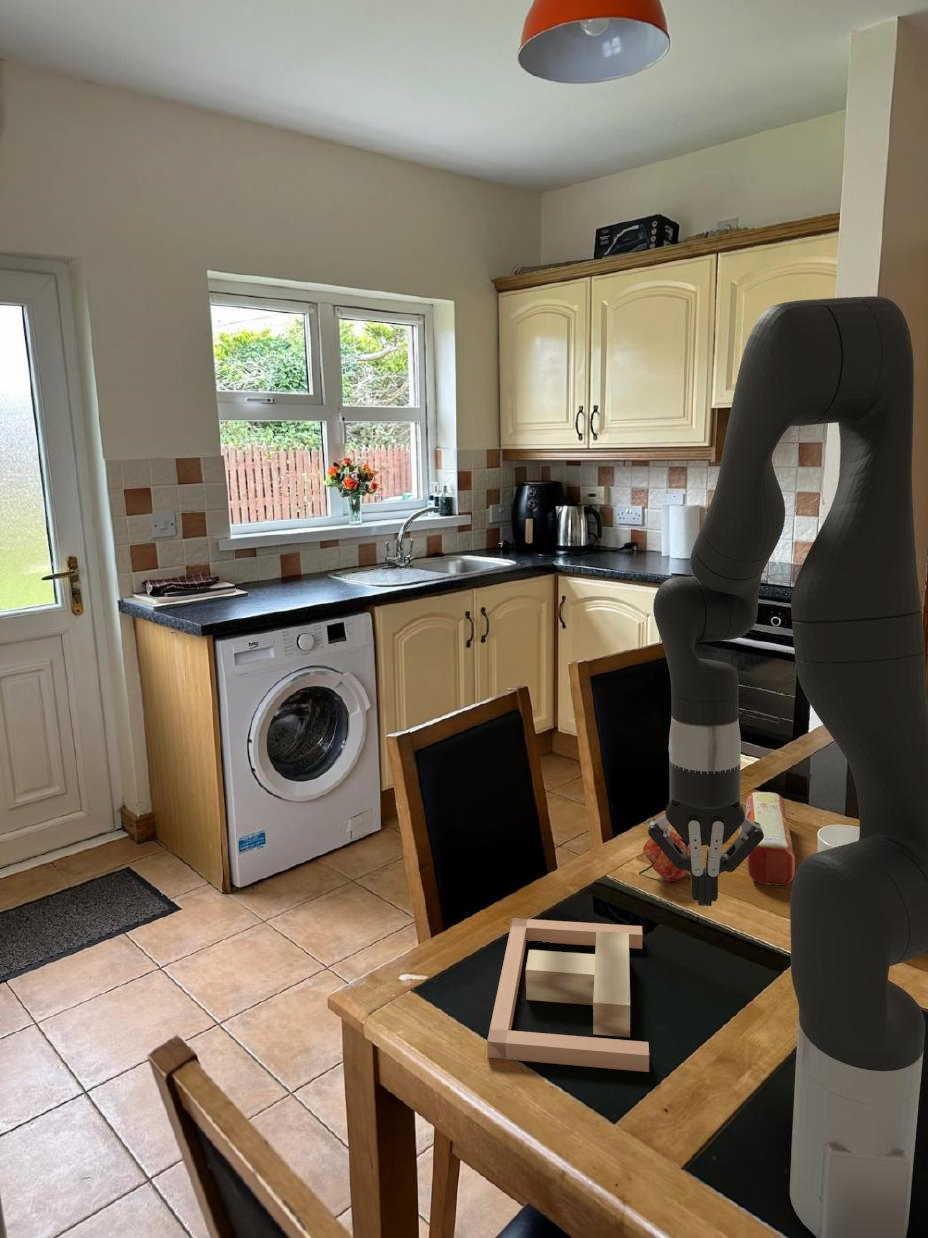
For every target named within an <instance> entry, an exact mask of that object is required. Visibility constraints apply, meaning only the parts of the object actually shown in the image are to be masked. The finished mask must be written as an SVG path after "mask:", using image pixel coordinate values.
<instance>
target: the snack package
mask: <svg viewBox="0 0 928 1238" xmlns="http://www.w3.org/2000/svg"><path fill="white" fill-rule="evenodd" d="M785 804H786V803H785V801H784V799H783V797H782V796H781V795H780V794H778V793H776V792H770V791H766V792H765V791H755V792H751V793H749V794H748V795H747V796H746V801H745V817H746V818H748V819H749V820H751V821H752V822H758V823H759V824H760V826H761V828H762V831H763V834H764V838H763V840H762V841H761V842H760V843H759V844H758V845H757V846H756V847H755V849H754V850H753V851H752V852H751V853H750V854H749V855H748V856H747V857H746V867H747V871H748V875H749V876H750V878H751V879H752V880H753V881H754V882H757V883H759V882H760V883H759V884H763V883H766V884H765V885H771V884H775V885H774V886H784V885H788V884H790V883H791V882H793V879H794V876H795V873H796V869H795V868H796V856H795V853H794V850H793V845H792V837H791V836H792V835H791V833H790V827H789V822H788V818H787V813H786V805H785Z"/></svg>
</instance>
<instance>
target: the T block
mask: <svg viewBox="0 0 928 1238" xmlns="http://www.w3.org/2000/svg"><path fill="white" fill-rule="evenodd" d="M630 973H631V972H630V948H629V933H619V932H604V931H596V946H595V952H594V953H581V952H565V951H564V952H563V951H552V950H540V949H528V954H527V961H526V966H525V988H526V989H525V993H526V995H525V998H526V999H525V1000H526V1001H537V1002H548V1003H549V1002H550V1003H561V1004H562V1003H563V1004H575V1005H587V1006H588V1005H589V1006H592V1010H593V1011H592V1015H593V1016H592V1018H593V1021H592V1022H593V1023H592V1024H593V1026H592V1029H593V1033H592V1034H593V1035H597V1036H598V1035H599V1036H609V1037H619V1038H620V1037H622V1038H631V985H630V984H631V983H630V977H631V976H630Z"/></svg>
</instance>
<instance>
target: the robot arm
mask: <svg viewBox="0 0 928 1238" xmlns="http://www.w3.org/2000/svg"><path fill="white" fill-rule="evenodd" d="M914 364H915V363H914V351H913V344H912V336H911V331H910V328H909V325H908V321H907V320H906V316H905V315H904V313H903V311H902V310H901V308H900V307H899V306H898V305H897V304H896V303H895V302H894V301H893V300H891V299H889V298H886V297H884V296H876V295H873V296H850V297H848V296H847V297H833V298H832V297H830V298H815V299H813V298H812V299H800V300H794V301H787V302H782V303H778V304H774V305H772V306H771V307H769V308H768V309H767V310H765V311H764V312H763V313H762V314H761V315H760V316H759V317H758V319H756V321H755V323H754V325H753V327H752V330H751V332H750V334H749V336H748V338H747V341H746V344H745V346H744V349H743V353H742V357H741V361H740V364H739V369H738V373H737V378H736V383H735V388H734V393H733V398H732V403H731V408H730V412H729V417H728V423H727V427H726V432H725V437H724V444H723V449H722V453H721V454H722V455H721V462H720V466H719V471H718V476H717V480H716V485H715V488H714V492H713V495H712V499H711V502H710V503H709V507H708V508H707V509H708V510H707V513H706V514H705V517H704V520H703V522H702V524H701V526H700V530H699V533H698V534H697V538H696V540H695V542H694V544H693V547H692V550H691V555H690V559H689V560H690V563H689V564H690V568H691V571H692V573H693V575H694V576H679V577H672V578H669V579H666V580H665V581H663V582H662V583H661V585H660V586H659V587H658V589H657V590H656V593H655V594H654V599H653V606H652V607H653V610H652V611H653V616H654V621H655V625H656V628H657V630H658V633H659V636H660V639H661V643H662V646H663V649H664V654H665V657H666V662H667V668H668V671H669V677H670V678H669V679H670V684H671V685H670V690H671V693H670V694H671V703H670V704H671V707H670V708H671V717H670V718H671V720H670V728H669V737H668V738H669V739H668V742H669V744H668V753H669V755H668V756H669V759H668V760H669V765H668V766H669V768H668V769H669V772H668V773H669V800H668V803H667V804H666V805H665V807H664V811H665V813H664V814H662V815H661V816H659V817H658V818H657V819H655V818H650V819H648V821H647V833H648V836H649V837H651V838H652V839H653V841H654V842H655V843H656V844H657V845H658V847H659V848H660V849H661V850H662V851H663V852H664V854H665V855H666V856H667V857H668V858H669V860H670V861H671V862H672V863H673V864H674V865H675V867H676V868H677V869H679V870H687V871H688V873H690V893H691V898H692V901H697V906H700V907H712V906H713V905H712V904H713V902H717V900H718V898H719V876H720V874H721V873H725V872H728V873H733V872H735V870H736V869H738V867H739V866H740V865H741V864H742V863H743V862H744V861H745V860H746V859H747V856H748V855H749V854H750V853H751V852H752V851H753V850H754V849H755V847H756V846H757V845H758V844H759V843H760V842H761V841H762V840H763V838H764V834H763V831H762V828H761V826H760V824H759V823H758V822H752V821H751V820H749V819H748V818H746V812H745V810H744V808H743V806H742V803H741V764H742V763H741V757H742V756H741V754H742V753H741V752H742V751H741V746H742V745H741V743H742V742H741V741H742V740H741V731H740V724H739V721H740V720H739V699H740V697H739V691H740V690H739V687H740V686H739V685H740V684H739V681H740V680H739V674H738V672H737V669H736V668H735V667H734V666H733V665H731V664H729V663H727V662H725V661H724V662H723V661H718V660H714V659H708V658H707V659H705V658H701V657H698V655H697V653H696V650H695V644H696V643H705V642H706V643H707V642H719V641H720V642H721V641H730V640H731V641H732V640H737V639H739V638H742V637H743V636H745V635H747V634H748V633H749V632H750V631H751V630H752V629H753V627H754V626H755V625H756V622H757V620H758V613H759V612H758V611H759V594H760V587H761V581H762V577H763V571H764V570H765V568H766V566H767V564H768V562H769V561H770V559H771V557H772V554H773V553H774V551H775V550H776V547H777V545H778V544H779V541H780V539H781V537H782V535H783V532H784V527H785V521H786V505H785V503H786V502H785V499H784V495H783V492H782V491H783V490H782V489H781V486H780V483H779V481H778V479H777V475H776V472H775V469H774V465H773V464H774V463H773V456H774V452H775V450H776V447H777V445H778V444H779V442H780V440H781V439H782V437H783V435H784V434H785V433H786V432H787V430H788V429H789V428H790V427H791V426H792V427H794V426H795V427H804V426H805V427H806V426H811V425H812V426H813V425H824V424H836V423H837V425H838V431H839V432H838V433H839V449H840V451H839V473H838V482H837V488H836V491H835V494H834V498H833V500H832V502H831V507H830V508H829V511H828V512H827V514H826V518H825V520H824V522H823V524H822V525H821V527H820V529H819V531H818V533H817V534H816V536H815V539H814V540H813V542H812V544H811V547H810V548H809V550H808V553H807V554H806V556H805V558H804V561H803V562H802V565H801V568H800V570H799V572H798V575H797V577H796V578H795V579H796V580H795V583H794V586H793V588H792V594H791V599H790V600H791V601H790V602H791V603H790V607H791V610H790V612H791V620H792V621H791V625H792V626H791V627H792V639H793V648H794V649H793V650H794V651H793V652H794V659H795V669H796V673H797V678H798V681H799V682H798V683H799V684H800V687H801V689H802V691H803V694H804V696H805V697H806V700H807V702H808V703H809V704H810V706H811V708H812V709H813V711H814V712H815V714H816V715H817V716H816V717H818V719H819V720H820V722H821V724H823V726H824V728H825V729H826V731H828V733H829V734H830V736H831V737H832V739H833V741H834V743H836V745H837V746H838V747H839V749H840V750H841V753H843V755H844V757H845V759H846V761H847V763H848V765H849V766H848V767H849V769H850V771H851V774H852V777H853V781H854V785H855V792H856V797H857V798H856V799H857V806H858V807H857V808H858V816H859V817H858V819H859V828H860V833H859V841H856V842H852V843H849V844H845V845H842V846H838V847H834V848H831V849H828V850H824V851H821V852H818V853H817V852H815V853H812V854H811V855H808V856H807V857H805V858H804V859H803V860H802V861H801V862H800V864H799V865H798V867H797V869H796V870H795V874H794V877H793V879H792V885H791V890H790V902H789V903H790V904H789V905H790V907H789V913H790V914H789V915H790V916H789V917H790V918H789V919H790V920H789V925H790V928H789V929H790V973H791V982H792V985H793V986H792V987H793V989H794V990H793V991H794V993H795V997H796V1000H797V1003H798V1021H797V1041H796V1054H795V1055H796V1057H795V1058H796V1059H795V1073H794V1074H795V1077H794V1095H793V1097H794V1098H793V1112H792V1113H793V1114H792V1115H793V1116H792V1130H791V1131H792V1135H791V1149H790V1150H791V1152H790V1153H791V1154H790V1155H791V1157H790V1158H791V1159H790V1179H789V1180H790V1181H789V1196H790V1197H789V1198H790V1202H791V1205H792V1207H793V1209H794V1212H795V1214H796V1216H797V1217H798V1219H799V1220H800V1221H801V1223H802V1224H803V1225H804V1226H805V1228H807V1229H808V1230H809V1231H810V1233H812V1235H814V1236H815V1238H906V1237H907V1234H908V1228H909V1220H910V1219H909V1218H910V1217H909V1216H910V1207H911V1197H912V1195H911V1194H912V1182H913V1170H914V1160H915V1159H914V1158H915V1148H916V1138H917V1137H916V1136H917V1126H918V1125H917V1124H918V1115H919V1114H918V1113H919V1112H918V1111H919V1102H920V1101H919V1100H920V1091H921V1090H920V1089H921V1082H922V1071H923V1069H922V1068H923V1061H924V1060H923V1057H924V1048H925V1038H926V1037H925V1036H926V1020H925V1016H924V1013H923V1010H922V1009H921V1007H920V1005H919V1004H918V1002H917V1000H916V999H914V998H915V997H913V996H912V995H911V994H910V993H909V992H907V991H906V990H905V989H904V988H902V987H901V986H899V985H897V984H896V983H894V982H892V981H891V980H889V972H890V967H892V966H896V965H898V964H900V963H903V962H906V961H909V960H911V959H912V960H913V959H914V958H917V957H919V956H923V955H925V954H927V953H928V688H927V686H928V685H927V667H926V666H927V665H926V663H927V662H926V659H927V658H926V643H925V632H924V631H925V630H924V618H923V611H922V610H923V608H922V601H921V591H920V584H919V576H918V567H917V565H918V563H917V554H916V553H917V552H916V539H915V538H916V537H915V526H914V525H915V524H914V523H915V522H914V519H915V518H914V505H913V504H914V502H913V446H914V445H913V439H914V438H913V437H914V403H915V402H914V401H915V400H914V397H915V396H914V395H915V388H914V387H915V365H914ZM670 826H671V827H672V828H673V829H674V831H675V832H676V834H677V835H679V836H680V838H681V839H683V840H684V841H685V842H686V843H688V844H689V846H688V847H689V850H690V856H689V855H687V854H685V853H684V852H683V851H682V850H681V848H680V847H679V846H678V845H677V844H676V842H675V841H674V840H673V839H672V838H671V837H670V832H671V828H670ZM737 830H738V834H739V836H738V837H737V838H736V839H735V840H734V841H733V842H732V843H731V845H730V846H729V847H728V848H727V849H726V850H725V851H724V852H723V854H722V849H723V845H725V844H726V843H727V842H728V841H729V840H730V839H731V837H732V836H734V833H736V831H737ZM702 846H706V857H705V867H704V865H703V851H702V850H703V849H702Z"/></svg>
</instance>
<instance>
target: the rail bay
mask: <svg viewBox="0 0 928 1238" xmlns="http://www.w3.org/2000/svg"><path fill="white" fill-rule="evenodd" d="M596 931H604V932H619V933H629V949H639V950H640V949H641V950H642V949H643V925H631V924H630V925H629V924H628V925H627V924H614V923H613V924H611V923H598V922H581V921H563V920H549V919H548V920H547V919H532V918H531V919H529V918H516V917H515V918H514V917H512V919H511V924H510V930H509V934H508V939H507V943H506V944H507V945H506V949H505V953H504V960H503V964H502V969H501V972H500V977H499V981H498V988H497V992H496V997H495V1002H494V1007H493V1012H492V1014H491V1015H492V1016H491V1017H492V1018H491V1020H490V1026H489V1031H488V1036H487V1040H486V1043H487V1046H486V1047H487V1058H489V1059H498V1060H499V1059H501V1060H508V1061H509V1060H511V1061H520V1062H521V1061H523V1062H535V1063H542V1064H543V1063H544V1064H545V1063H546V1064H555V1065H556V1064H557V1065H567V1066H578V1067H589V1068H590V1067H591V1068H600V1069H610V1070H611V1069H612V1070H621V1071H623V1070H624V1071H632V1072H633V1071H634V1072H644V1073H645V1072H646V1073H650V1048H649V1047H650V1046H649V1041H641V1040H627V1039H626V1040H625V1039H614V1038H604V1037H603V1038H602V1037H592V1036H591V1037H590V1036H582V1035H581V1036H580V1035H579V1036H578V1035H568V1034H558V1033H557V1034H556V1033H545V1032H544V1033H542V1032H534V1031H533V1032H531V1031H521V1030H520V1031H519V1030H512V1027H513V1022H514V1014H515V1009H516V1003H517V999H518V992H519V986H520V980H521V976H522V968H523V962H524V957H525V951H526V946H527V942H531V941H542V942H541V943H546V942H549V944H562V945H563V944H564V945H565V944H566V945H576V946H577V945H578V946H579V945H581V946H595V947H596ZM526 940H528V941H526Z"/></svg>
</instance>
